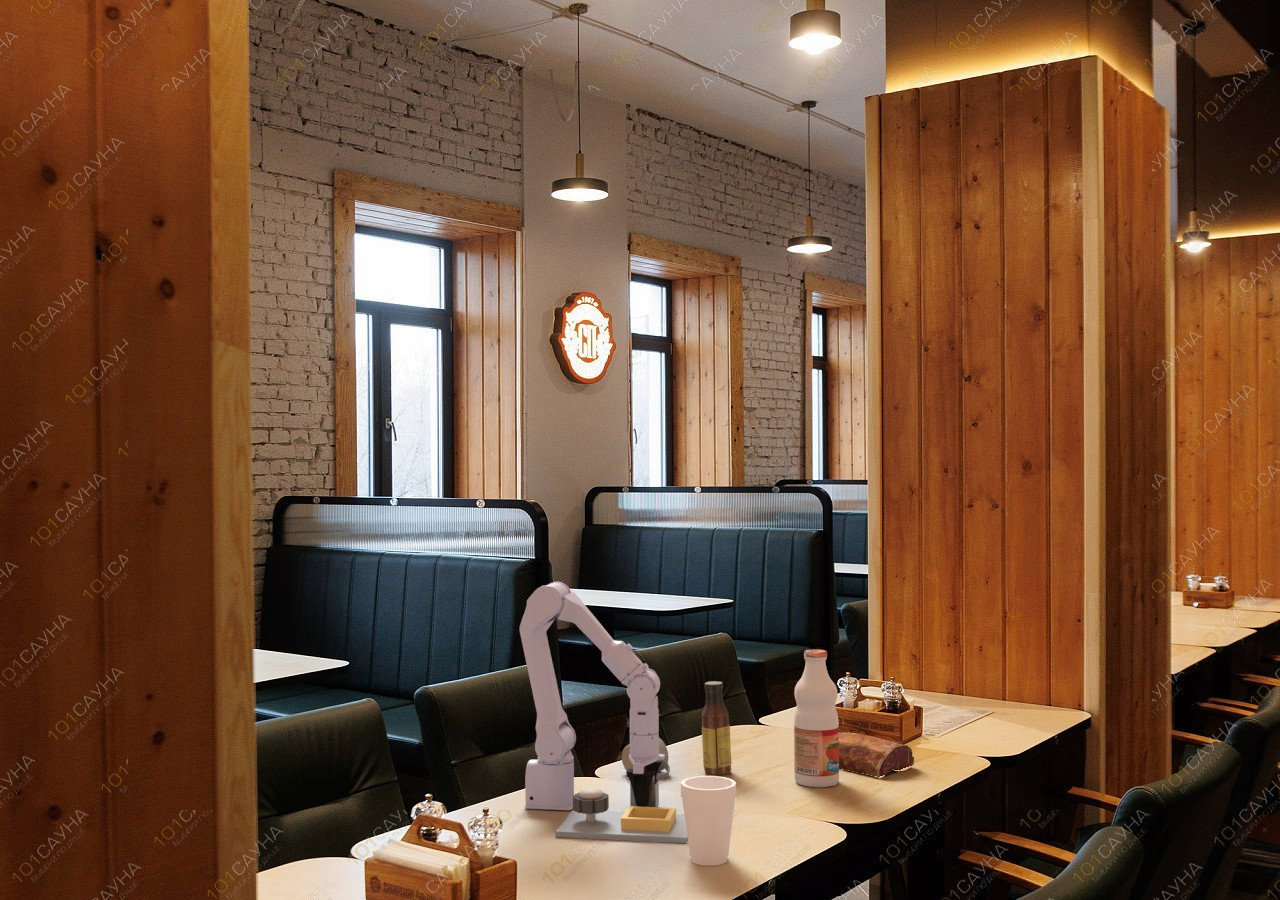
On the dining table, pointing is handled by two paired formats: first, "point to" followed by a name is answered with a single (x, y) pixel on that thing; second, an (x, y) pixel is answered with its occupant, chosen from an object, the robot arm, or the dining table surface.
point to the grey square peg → (652, 797)
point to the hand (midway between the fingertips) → (644, 801)
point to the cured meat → (872, 754)
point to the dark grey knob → (590, 801)
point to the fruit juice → (816, 725)
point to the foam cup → (708, 817)
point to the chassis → (627, 825)
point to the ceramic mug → (662, 750)
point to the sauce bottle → (715, 731)
